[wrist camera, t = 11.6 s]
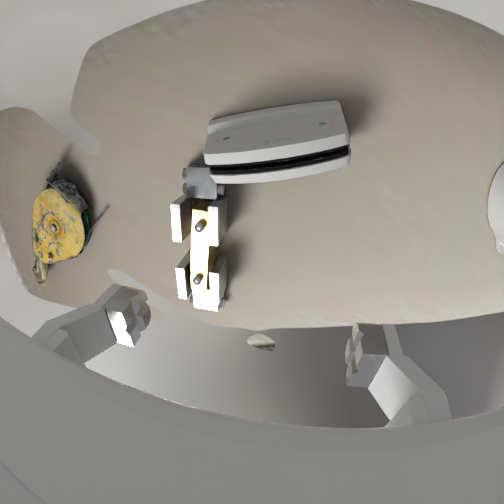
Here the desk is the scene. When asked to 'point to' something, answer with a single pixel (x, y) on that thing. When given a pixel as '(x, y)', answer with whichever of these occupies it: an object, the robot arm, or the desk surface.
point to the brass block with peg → (201, 249)
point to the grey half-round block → (277, 143)
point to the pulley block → (59, 225)
